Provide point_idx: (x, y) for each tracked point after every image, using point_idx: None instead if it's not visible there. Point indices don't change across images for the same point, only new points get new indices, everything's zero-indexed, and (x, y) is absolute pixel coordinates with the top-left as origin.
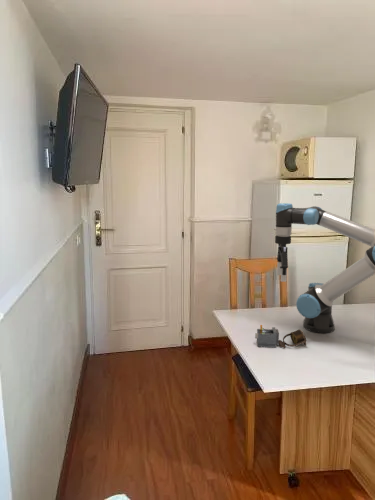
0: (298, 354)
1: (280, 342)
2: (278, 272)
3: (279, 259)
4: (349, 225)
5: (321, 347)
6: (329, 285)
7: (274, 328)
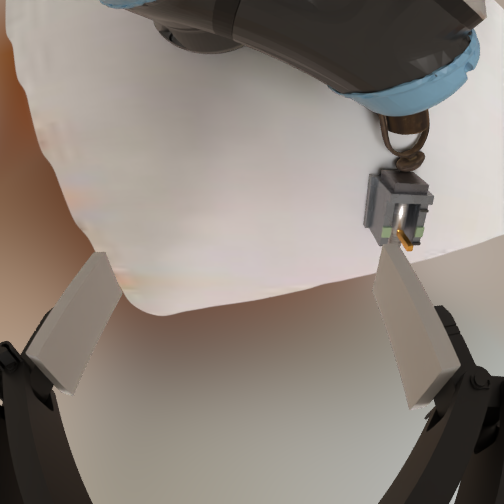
0: (452, 125)
1: (416, 168)
2: (109, 300)
3: (52, 418)
4: None
5: None
6: None
7: (401, 196)
